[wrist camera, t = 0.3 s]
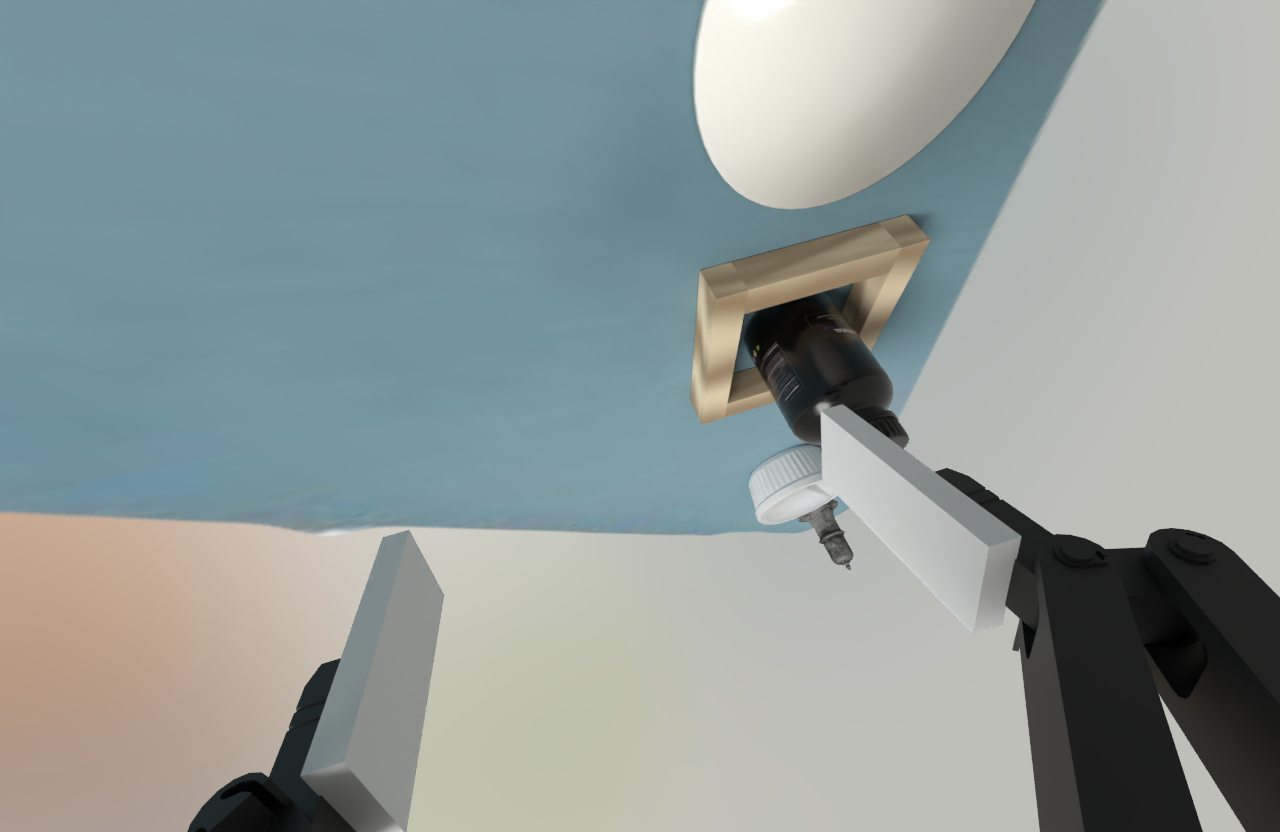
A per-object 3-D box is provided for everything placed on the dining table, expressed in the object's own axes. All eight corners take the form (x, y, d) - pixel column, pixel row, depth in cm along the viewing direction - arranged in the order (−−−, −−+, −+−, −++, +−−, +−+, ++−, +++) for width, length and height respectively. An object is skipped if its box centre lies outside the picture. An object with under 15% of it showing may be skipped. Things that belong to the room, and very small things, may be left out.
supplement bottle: (840, 272, 35) (949, 412, 29) (813, 338, 41) (900, 466, 35) (747, 296, 34) (840, 447, 28) (734, 361, 40) (808, 497, 34)
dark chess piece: (797, 483, 70) (843, 567, 63) (832, 475, 72) (879, 556, 65) (780, 503, 74) (820, 583, 68) (813, 494, 76) (855, 571, 70)
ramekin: (844, 433, 60) (869, 472, 58) (794, 481, 69) (813, 516, 66) (770, 443, 55) (792, 485, 53) (725, 492, 64) (743, 531, 61)
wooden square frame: (699, 270, 30) (716, 299, 29) (906, 214, 32) (930, 239, 31) (690, 400, 42) (701, 424, 41) (842, 353, 44) (857, 376, 43)
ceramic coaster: (704, -247, 14) (712, -243, 14) (1173, -308, 16) (1190, -306, 16) (685, 232, 28) (689, 239, 27) (942, 166, 30) (949, 172, 30)
